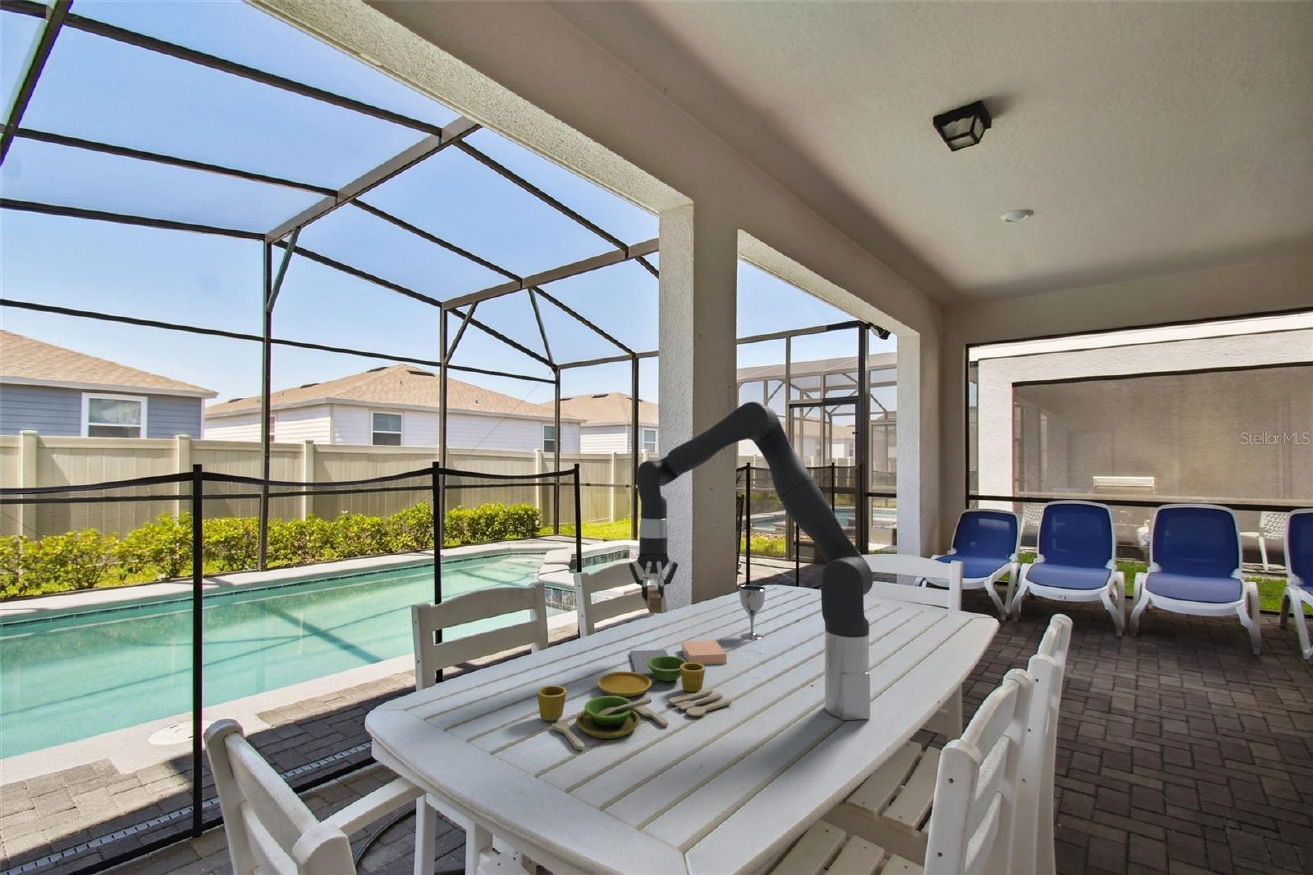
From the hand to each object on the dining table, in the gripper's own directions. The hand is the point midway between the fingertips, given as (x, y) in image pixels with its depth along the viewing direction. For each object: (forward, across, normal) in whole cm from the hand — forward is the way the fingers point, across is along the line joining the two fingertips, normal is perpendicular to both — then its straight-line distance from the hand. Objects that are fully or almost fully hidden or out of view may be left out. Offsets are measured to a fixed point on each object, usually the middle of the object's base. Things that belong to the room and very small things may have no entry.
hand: (652, 599), depth 157 cm
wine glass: (+17, +34, +22) cm, 44 cm away
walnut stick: (+2, 0, 0) cm, 2 cm away
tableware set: (+17, -8, -25) cm, 31 cm away
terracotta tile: (+16, +15, -1) cm, 22 cm away
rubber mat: (+17, 0, 0) cm, 17 cm away
